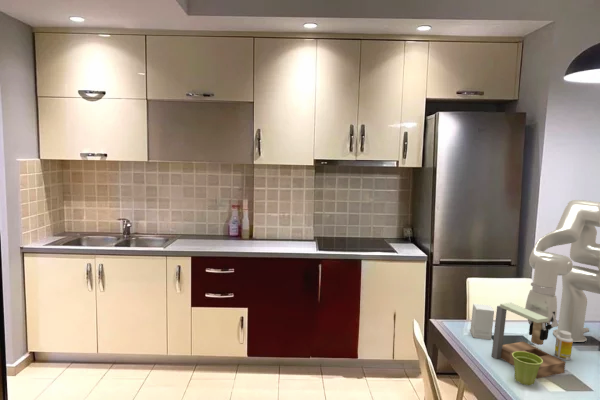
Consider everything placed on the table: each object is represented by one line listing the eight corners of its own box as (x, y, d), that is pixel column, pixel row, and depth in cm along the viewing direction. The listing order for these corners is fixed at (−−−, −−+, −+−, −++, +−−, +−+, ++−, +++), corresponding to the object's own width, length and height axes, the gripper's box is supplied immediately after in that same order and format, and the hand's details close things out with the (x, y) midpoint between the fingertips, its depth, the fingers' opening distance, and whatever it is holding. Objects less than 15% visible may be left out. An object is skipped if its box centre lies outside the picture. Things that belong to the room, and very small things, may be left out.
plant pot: (542, 390, 150) (545, 365, 149) (511, 385, 153) (514, 360, 152) (536, 377, 159) (539, 353, 158) (507, 372, 162) (510, 349, 161)
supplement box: (491, 340, 189) (494, 311, 188) (472, 337, 191) (475, 308, 189) (487, 333, 197) (490, 305, 195) (469, 330, 198) (472, 303, 197)
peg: (528, 340, 171) (531, 315, 169) (536, 339, 172) (539, 314, 171) (538, 345, 167) (541, 319, 166) (545, 344, 168) (548, 318, 167)
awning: (502, 354, 176) (508, 301, 174) (541, 375, 161) (548, 318, 158) (491, 356, 174) (497, 302, 172) (529, 378, 158) (537, 319, 156)
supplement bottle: (573, 359, 175) (577, 334, 174) (564, 361, 173) (567, 336, 172) (560, 353, 180) (563, 328, 179) (550, 355, 178) (554, 330, 177)
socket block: (522, 351, 180) (523, 341, 180) (564, 372, 164) (565, 362, 164) (496, 355, 175) (497, 345, 174) (536, 378, 158) (538, 367, 158)
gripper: (517, 283, 173) (512, 329, 175) (557, 297, 158) (551, 347, 160) (531, 282, 176) (526, 327, 178) (572, 296, 161) (565, 345, 163)
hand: (537, 336), depth 169 cm, fingers closed on peg, 4 cm apart
